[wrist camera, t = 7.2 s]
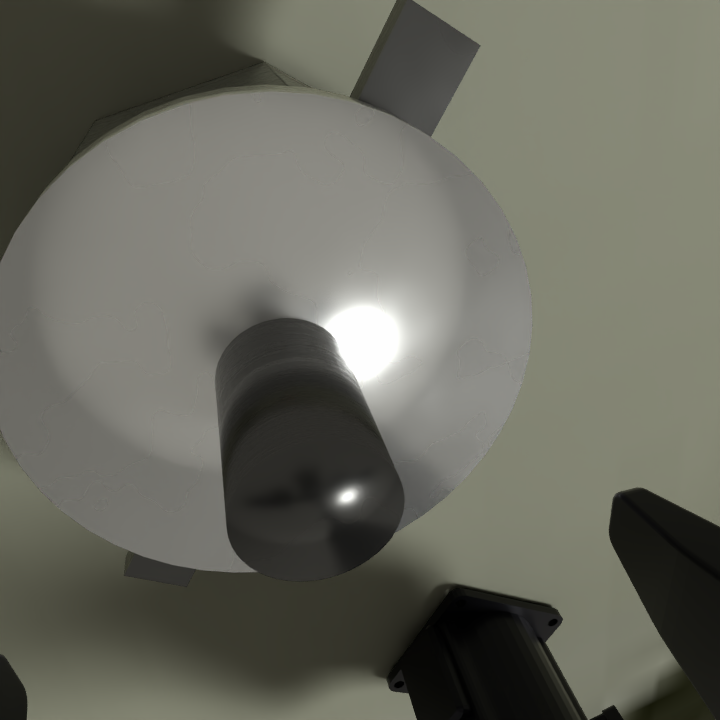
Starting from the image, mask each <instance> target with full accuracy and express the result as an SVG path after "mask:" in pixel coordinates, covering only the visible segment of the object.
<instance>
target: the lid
mask: <svg viewBox="0 0 720 720" xmlns="http://www.w3.org/2000/svg"><path fill="white" fill-rule="evenodd" d="M531 333H532V301H531V291H530V286H529V280H528V275H527V269H526V265H525V262H524V259H523V256H522V253H521V250H520V247H519V244H518V241H517V238H516V236H515V234H514V232H513V230H512V228H511V226H510V224H509V222H508V220H507V219H506V217H505V215H504V213H503V211H502V209H501V207H500V206H499V205H498V203H497V202H496V201H495V199H494V198H493V196H492V195H491V194H490V192H489V191H488V190H487V188H486V187H485V185H484V184H483V183H482V181H481V180H480V179H479V178H478V177H477V176H476V175H475V174H474V173H473V172H472V171H471V170H470V169H469V168H468V167H467V166H466V165H465V164H464V163H463V162H462V161H461V160H460V159H459V158H458V157H457V156H455V155H454V154H453V153H451V152H450V151H449V150H447V149H446V148H445V147H443V146H442V145H440V144H439V143H438V142H436V141H435V140H434V139H432V138H431V137H430V136H428V135H427V134H425V133H424V132H422V131H421V130H419V129H417V128H416V127H414V126H413V125H411V124H409V123H407V122H405V121H403V120H401V119H400V118H398V117H396V116H394V115H392V114H390V113H388V112H387V111H385V110H383V109H381V108H378V107H376V106H373V105H370V104H367V103H365V102H362V101H359V100H356V99H354V98H351V97H348V96H345V95H341V94H336V93H331V92H327V91H322V90H317V89H312V88H307V87H294V86H279V85H255V86H242V87H229V88H221V89H217V90H212V91H208V92H203V93H199V94H194V95H190V96H185V97H182V98H179V99H176V100H174V101H171V102H168V103H166V104H163V105H160V106H158V107H155V108H152V109H150V110H147V111H144V112H143V113H141V114H139V115H137V116H135V117H133V118H132V119H130V120H128V121H126V122H124V123H123V124H121V125H119V126H117V127H115V128H113V129H112V130H110V131H108V132H107V133H105V134H104V135H103V136H101V137H100V138H99V139H97V140H96V141H95V142H94V143H92V144H91V145H90V146H88V147H87V148H86V149H84V150H83V151H82V152H80V153H79V154H78V155H76V156H75V157H74V158H73V159H72V160H71V161H70V162H69V163H68V164H67V165H66V167H65V168H64V169H63V170H62V171H61V172H60V173H59V174H58V175H57V176H56V177H55V178H54V179H53V180H52V181H51V182H50V183H49V184H48V185H47V187H46V188H45V190H44V191H43V192H42V194H41V195H40V197H39V198H38V199H37V201H36V202H35V204H34V205H33V207H32V208H31V209H30V211H29V212H28V214H27V215H26V217H25V218H24V220H23V221H22V223H21V224H20V226H19V227H18V229H17V230H16V232H15V233H14V235H13V237H12V239H11V241H10V243H9V246H8V248H7V250H6V252H5V254H4V256H3V258H2V260H1V262H0V430H1V432H2V435H3V438H4V439H5V441H6V443H7V445H8V446H9V448H10V450H11V451H12V453H13V455H14V456H15V458H16V460H17V462H18V463H19V465H20V466H21V468H22V469H23V470H24V471H25V473H26V474H27V475H28V476H29V478H30V479H31V480H32V481H33V483H34V484H35V485H36V486H37V488H38V489H39V490H40V491H41V492H42V493H43V494H44V495H45V496H46V497H47V498H48V499H49V500H51V501H52V502H53V503H54V504H55V505H56V506H57V507H58V508H59V509H60V510H61V511H62V512H63V513H65V514H66V515H68V516H69V517H70V518H72V519H73V520H75V521H76V522H77V523H79V524H80V525H82V526H83V527H84V528H86V529H87V530H89V531H90V532H92V533H94V534H96V535H98V536H100V537H101V538H103V539H105V540H107V541H109V542H110V543H112V544H114V545H116V546H119V547H121V548H124V549H126V550H128V551H131V552H133V553H136V554H138V555H141V556H143V557H147V558H150V559H154V560H157V561H161V562H164V563H167V564H171V565H176V566H181V567H187V568H193V569H198V570H206V571H219V572H259V573H261V574H264V575H266V576H269V577H272V578H276V579H281V580H286V581H313V580H320V579H325V578H330V577H333V576H336V575H339V574H342V573H345V572H347V571H349V570H352V569H354V568H355V567H357V566H359V565H361V564H363V563H364V562H366V561H367V560H369V559H370V558H371V557H373V556H374V555H375V554H377V553H378V552H379V551H380V550H381V549H382V548H383V547H384V546H385V545H386V544H387V542H388V541H389V540H390V539H391V538H392V536H393V534H394V533H395V532H397V531H399V530H401V529H402V528H404V527H405V526H407V525H408V524H410V523H411V522H413V521H415V520H416V519H418V518H419V517H421V516H422V515H424V514H425V513H426V512H428V511H429V510H430V509H431V508H433V507H434V506H435V505H436V504H438V503H439V502H440V501H442V500H443V499H444V498H445V497H446V496H447V495H449V494H450V493H451V492H452V491H453V490H454V489H455V488H456V487H457V486H458V485H459V484H460V483H461V482H462V481H463V480H464V479H465V478H466V477H467V476H468V475H469V473H470V472H471V471H472V470H473V469H474V468H475V466H476V465H477V464H478V463H479V462H480V460H481V459H482V458H483V457H484V456H485V454H486V453H487V451H488V450H489V448H490V447H491V445H492V444H493V442H494V441H495V439H496V438H497V436H498V435H499V433H500V432H501V430H502V428H503V426H504V424H505V422H506V420H507V418H508V416H509V414H510V412H511V410H512V408H513V406H514V403H515V401H516V398H517V395H518V393H519V390H520V387H521V385H522V382H523V378H524V374H525V370H526V366H527V362H528V357H529V352H530V343H531Z"/></svg>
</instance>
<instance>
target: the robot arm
mask: <svg viewBox="0 0 720 720" xmlns="http://www.w3.org/2000/svg"><path fill="white" fill-rule="evenodd" d="M609 536H610V540H611V543H612V546H613V548H614V550H615V551H616V553H617V555H618V557H619V559H620V561H621V563H622V565H623V567H624V569H625V570H626V572H627V574H628V576H629V578H630V580H631V582H632V584H633V586H634V587H635V589H636V591H637V593H638V595H639V597H640V599H641V601H642V603H643V605H644V606H645V608H646V610H647V612H648V614H649V616H650V618H651V620H652V622H653V623H654V625H655V627H656V629H657V630H658V632H659V634H660V636H661V637H662V639H663V640H664V642H665V644H666V645H667V647H668V648H669V650H670V651H671V653H672V654H673V656H674V657H675V659H676V660H677V662H678V663H679V665H680V666H681V668H682V669H683V671H684V672H685V674H686V675H687V677H688V678H689V680H690V681H691V683H692V684H693V686H694V688H695V689H696V691H697V692H698V694H699V695H700V697H701V698H702V700H703V701H704V703H705V704H706V706H707V707H708V709H709V710H710V712H711V713H712V715H713V716H714V718H715V719H716V720H720V527H719V526H717V525H715V524H713V523H712V522H710V521H708V520H706V519H704V518H702V517H700V516H698V515H696V514H694V513H692V512H690V511H688V510H686V509H684V508H682V507H680V506H678V505H676V504H674V503H672V502H670V501H668V500H666V499H664V498H662V497H660V496H658V495H656V494H654V493H652V492H650V491H648V490H646V489H644V488H633V489H629V490H625V491H621V492H618V493H616V494H615V496H614V497H613V502H612V509H611V517H610V525H609ZM562 620H563V618H562V617H561V615H560V613H559V612H558V610H557V609H555V608H550V607H546V606H541V605H536V604H532V603H527V602H523V601H518V600H514V599H509V598H504V597H500V596H495V595H491V594H486V593H482V592H477V591H473V590H468V589H463V588H459V589H455V590H453V591H452V592H450V593H449V594H448V596H447V597H446V598H445V600H444V601H443V602H442V604H441V605H440V606H439V608H438V609H437V611H436V612H435V613H434V615H433V616H432V617H431V619H430V620H429V621H428V623H427V624H426V625H425V627H424V628H423V629H422V631H421V632H420V633H419V635H418V636H417V637H416V639H415V640H414V641H413V643H412V644H411V645H410V647H409V648H408V649H407V651H406V652H405V653H404V655H403V656H402V657H401V659H400V660H399V662H398V663H397V664H396V666H395V667H394V668H393V670H392V671H391V672H390V674H389V675H388V677H387V683H388V686H389V689H390V690H391V691H394V692H402V693H409V696H410V699H411V702H412V705H413V709H414V712H415V715H416V718H417V720H588V719H587V718H586V716H585V714H584V712H583V710H582V708H581V707H580V705H579V703H578V701H577V699H576V698H575V696H574V694H573V692H572V690H571V688H570V687H569V685H568V683H567V681H566V679H565V677H564V676H563V674H562V672H561V670H560V668H559V666H558V665H557V663H556V661H555V659H554V657H553V656H552V654H551V652H550V650H549V648H548V646H547V645H546V643H545V642H546V641H547V640H548V638H549V637H550V636H551V635H552V634H553V633H554V631H555V630H556V629H557V628H558V627H559V626H560V624H561V623H562ZM602 712H603V713H602V714H600V715H598V716H596V717H594V718H592V719H590V720H623V718H622V717H621V715H620V713H619V712H618V710H617V709H616V707H615V706H614V705H612V706H610V707H608V708H606V709H604V710H602ZM0 720H27V695H26V691H25V688H24V686H23V684H22V683H21V681H20V679H19V678H18V676H17V675H16V673H15V672H14V670H13V668H12V667H11V665H10V664H9V662H8V661H7V659H6V658H5V657H4V656H3V655H1V654H0Z"/></svg>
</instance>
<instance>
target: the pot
mask: <svg viewBox="0 0 720 720" xmlns="http://www.w3.org/2000/svg"><path fill="white" fill-rule="evenodd" d="M479 47H480V45H479V44H477V43H476V42H474V41H473V40H471V39H470V38H468V37H467V36H465V35H464V34H462V33H461V32H459V31H458V30H456V29H455V28H453V27H452V26H450V25H449V24H447V23H446V22H444V21H443V20H441V19H440V18H438V17H437V16H435V15H434V14H432V13H431V12H429V11H428V10H426V9H424V8H423V7H421V6H420V5H418V4H417V3H415V2H414V1H412V0H397V1H396V3H395V5H394V7H393V9H392V11H391V13H390V15H389V17H388V19H387V21H386V23H385V25H384V27H383V29H382V32H381V34H380V36H379V38H378V40H377V42H376V44H375V46H374V48H373V50H372V52H371V54H370V56H369V58H368V60H367V62H366V64H365V66H364V69H363V71H362V73H361V75H360V77H359V79H358V81H357V83H356V85H355V87H354V89H353V91H352V93H351V95H350V97H351V98H354V99H356V100H359V101H362V102H365V103H367V104H370V105H373V106H376V107H378V108H381V109H383V110H385V111H387V112H388V113H390V114H392V115H394V116H396V117H398V118H400V119H401V120H403V121H405V122H407V123H409V124H411V125H413V126H414V127H416V128H417V129H419V130H421V131H422V132H424V133H425V134H427V135H428V136H430V137H431V136H432V134H433V132H434V130H435V128H436V126H437V125H438V123H439V121H440V119H441V117H442V115H443V113H444V112H445V110H446V108H447V106H448V104H449V102H450V101H451V99H452V97H453V95H454V93H455V91H456V90H457V88H458V86H459V84H460V82H461V80H462V79H463V77H464V75H465V73H466V71H467V69H468V67H469V66H470V64H471V62H472V60H473V58H474V56H475V55H476V53H477V51H478V49H479ZM255 85H279V86H294V87H307V88H311V87H309V86H307V85H305V84H304V83H302V82H300V81H298V80H296V79H295V78H293V77H291V76H289V75H287V74H285V73H284V72H282V71H280V70H278V69H276V68H275V67H273V66H271V65H269V64H267V63H266V62H262V63H260V64H257V65H254V66H251V67H248V68H245V69H242V70H240V71H237V72H234V73H231V74H228V75H225V76H222V77H220V78H217V79H214V80H211V81H208V82H205V83H202V84H200V85H197V86H194V87H191V88H188V89H185V90H182V91H180V92H177V93H174V94H171V95H168V96H165V97H162V98H160V99H157V100H154V101H151V102H148V103H145V104H142V105H139V106H137V107H134V108H131V109H128V110H125V111H122V112H119V113H117V114H114V115H111V116H108V117H105V118H102V119H99V120H96V121H95V122H94V124H93V125H92V127H91V128H90V130H89V132H88V133H87V135H86V136H85V138H84V140H83V141H82V143H81V144H80V146H79V148H78V149H77V151H76V152H75V154H74V156H73V157H72V159H73V158H74V157H75V156H76V155H78V154H79V153H80V152H82V151H83V150H84V149H86V148H87V147H88V146H90V145H91V144H92V143H94V142H95V141H96V140H97V139H99V138H100V137H101V136H103V135H104V134H105V133H107V132H108V131H110V130H112V129H113V128H115V127H117V126H119V125H121V124H123V123H124V122H126V121H128V120H130V119H132V118H133V117H135V116H137V115H139V114H141V113H143V112H144V111H147V110H150V109H152V108H155V107H158V106H160V105H163V104H166V103H168V102H171V101H174V100H176V99H179V98H182V97H185V96H190V95H194V94H199V93H203V92H208V91H212V90H217V89H221V88H229V87H242V86H255ZM312 89H313V88H312ZM72 159H71V160H72ZM71 160H70V161H71ZM195 570H196V569H193V568H187V567H181V566H176V565H171V564H167V563H164V562H161V561H157V560H154V559H150V558H147V557H143V556H141V555H138V554H136V553H133V552H131V551H129V552H128V554H127V556H126V561H125V571H124V576H129V577H135V578H140V579H146V580H151V581H157V582H162V583H168V584H173V585H179V586H184V587H187V585H188V583H189V581H190V579H191V577H192V576H193V574H194V572H195Z"/></svg>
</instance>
